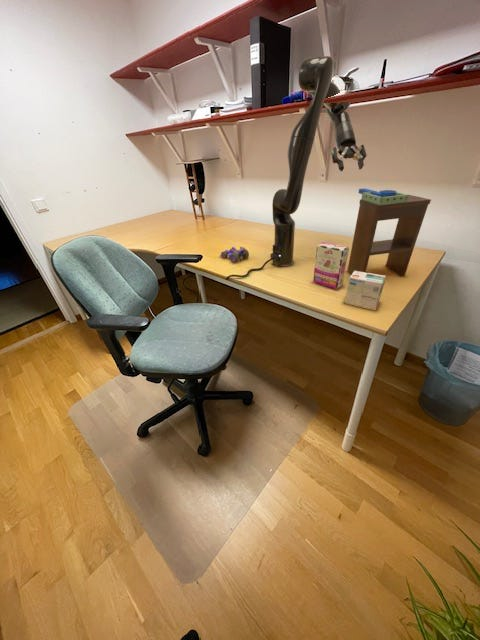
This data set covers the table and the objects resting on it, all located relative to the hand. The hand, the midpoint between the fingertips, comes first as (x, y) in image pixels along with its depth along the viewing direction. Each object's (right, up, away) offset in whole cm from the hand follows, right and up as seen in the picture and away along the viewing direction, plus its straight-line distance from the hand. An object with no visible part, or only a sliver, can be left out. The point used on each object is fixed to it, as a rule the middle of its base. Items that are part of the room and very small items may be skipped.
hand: (351, 169), depth 111 cm
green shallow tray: (+4, -22, -17) cm, 28 cm away
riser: (+10, -46, 0) cm, 47 cm away
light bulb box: (-4, -60, -18) cm, 63 cm away
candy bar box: (-12, -51, -4) cm, 53 cm away
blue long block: (+3, -18, -13) cm, 23 cm away
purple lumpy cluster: (-52, -33, +27) cm, 67 cm away
